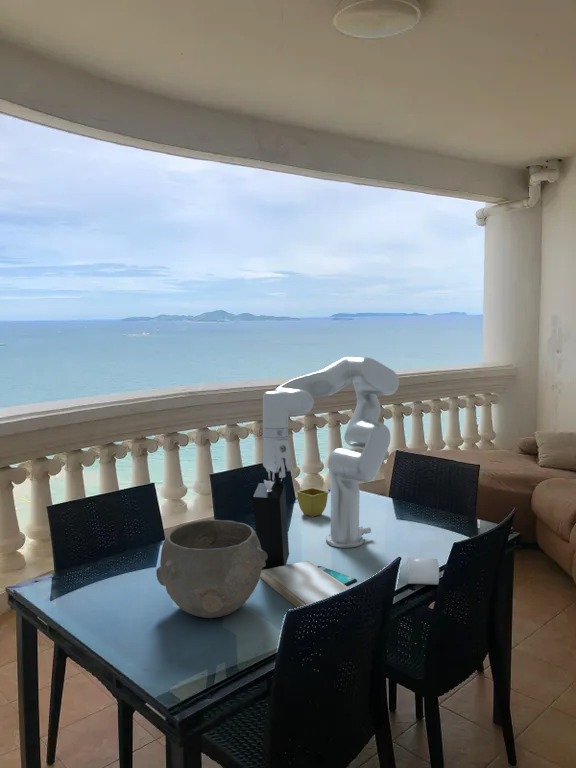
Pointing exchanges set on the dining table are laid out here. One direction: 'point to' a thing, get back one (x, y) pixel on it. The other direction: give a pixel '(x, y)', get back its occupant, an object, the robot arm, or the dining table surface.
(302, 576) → the tray
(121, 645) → the dining table surface
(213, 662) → the dining table surface
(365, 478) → the robot arm
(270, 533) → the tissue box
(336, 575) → the smartphone
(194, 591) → the bowl
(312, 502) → the flower pot
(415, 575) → the white rounded cube
